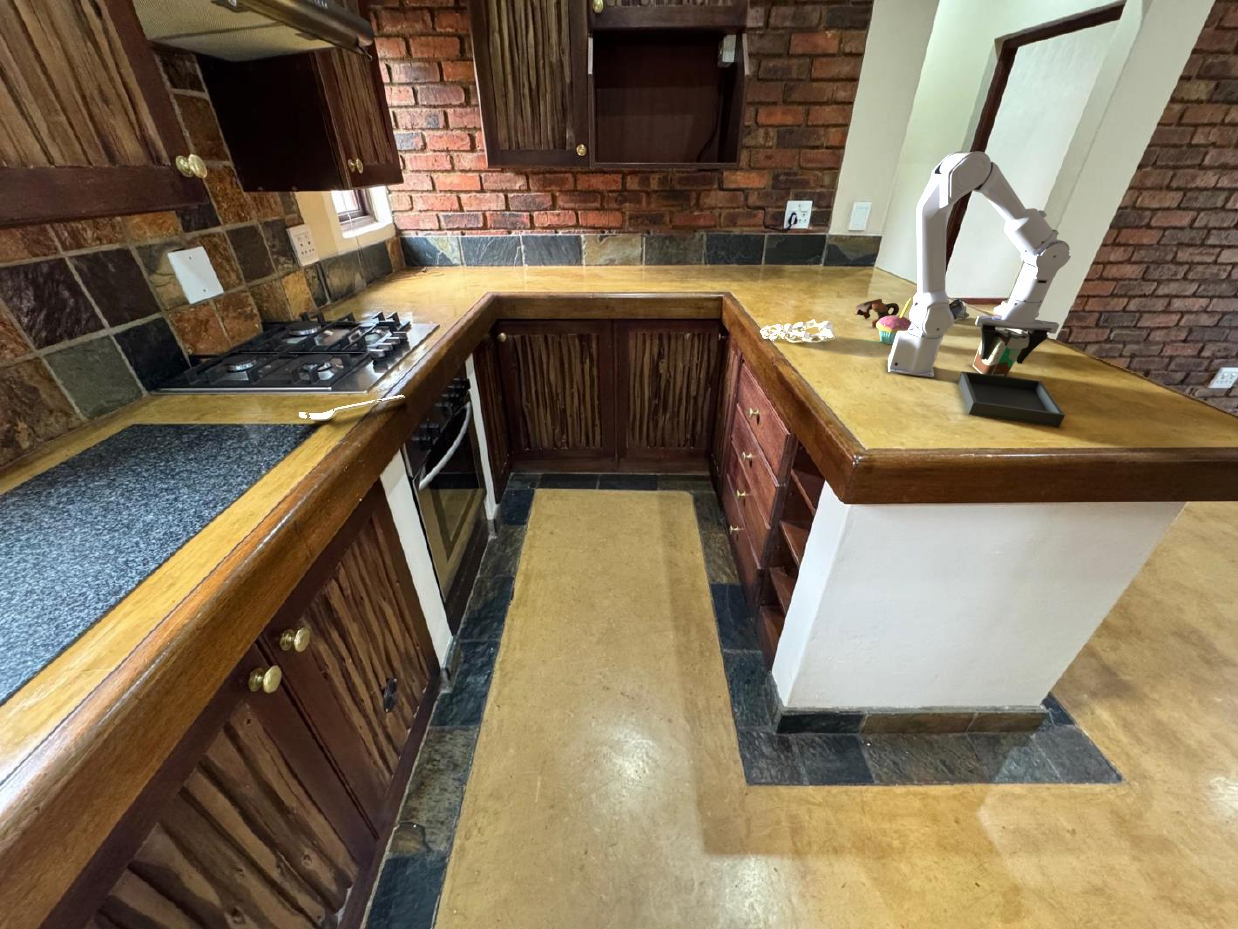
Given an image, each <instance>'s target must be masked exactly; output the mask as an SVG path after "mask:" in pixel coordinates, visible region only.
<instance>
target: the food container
mask: <svg viewBox="0 0 1238 929" xmlns="http://www.w3.org/2000/svg"><path fill="white" fill-rule="evenodd" d="M995 329H996V330H995V332H996V335H995V337H994V339H993V341H992V343H991V345H990V347H989V350H988V353H987V356H986V358H985V360H982V359H981V358H980V354H981V347H982V340H980V344H979V346H978V349H977V351H976V355H975V357H974V359H973V362H972V367H973V368H974V369H975V370H976V371H977V372H978V373H981V374H990V375H998V376H1006V377H1008V375H1009V373H1010V370H1011V369H1012V367H1013V365H1014V364H1015V362H1017V361H1016V360H1017V357H1018V356H1019V354H1020V352H1021V350H1022V349H1023V348H1026V347H1028V345H1029V340H1030V338H1029V334H1028V333H1027V332H1028V331H1027V332H1025V331H1023V330H1019V329H1008V328H997V327H995Z"/></svg>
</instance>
